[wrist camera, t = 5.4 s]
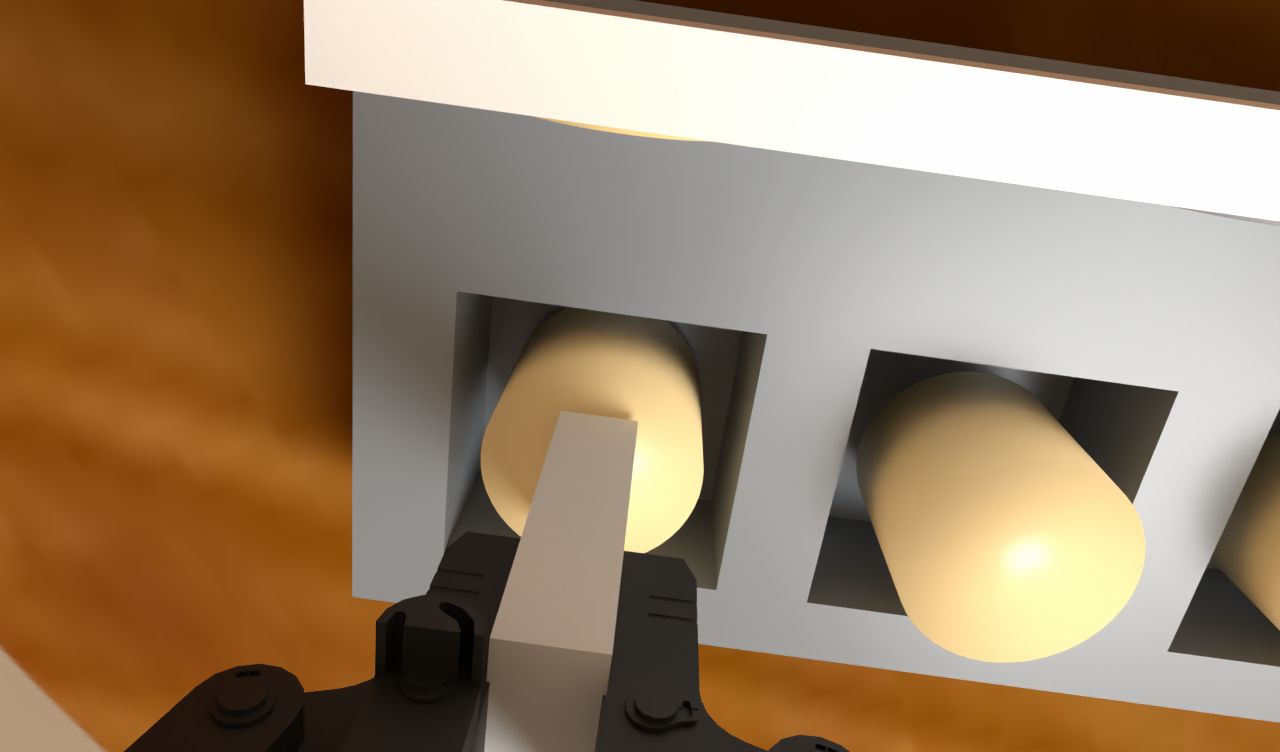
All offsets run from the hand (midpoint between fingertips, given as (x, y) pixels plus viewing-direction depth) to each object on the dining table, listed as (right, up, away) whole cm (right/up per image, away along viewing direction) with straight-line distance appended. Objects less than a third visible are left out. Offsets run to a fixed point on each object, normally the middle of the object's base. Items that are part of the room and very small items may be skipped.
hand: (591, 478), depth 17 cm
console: (+8, +3, +5) cm, 10 cm away
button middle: (+8, 0, +3) cm, 8 cm away
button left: (0, +2, +4) cm, 4 cm away
